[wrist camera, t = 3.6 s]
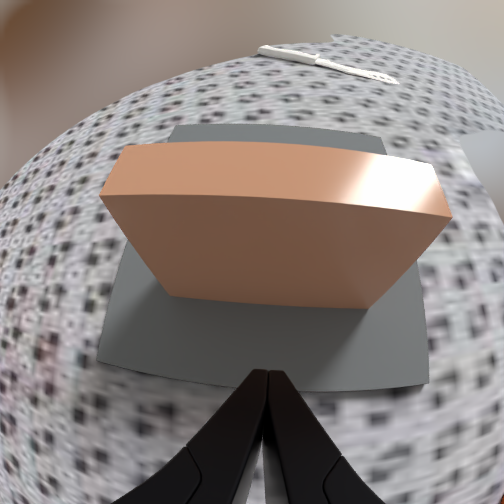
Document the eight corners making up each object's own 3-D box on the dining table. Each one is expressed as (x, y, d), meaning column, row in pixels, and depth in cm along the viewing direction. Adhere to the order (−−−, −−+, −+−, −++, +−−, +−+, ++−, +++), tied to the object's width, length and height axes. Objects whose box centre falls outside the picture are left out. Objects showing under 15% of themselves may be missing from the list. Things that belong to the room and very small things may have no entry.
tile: (368, 308, 17) (452, 217, 8) (169, 295, 18) (99, 195, 9) (365, 267, 18) (430, 161, 10) (178, 255, 19) (127, 143, 11)
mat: (424, 383, 15) (429, 383, 14) (100, 361, 16) (96, 360, 15) (379, 141, 26) (380, 137, 26) (176, 129, 28) (175, 125, 27)
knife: (424, 92, 37) (427, 85, 36) (432, 106, 34) (435, 98, 33) (260, 51, 40) (261, 43, 39) (252, 60, 38) (252, 51, 36)
